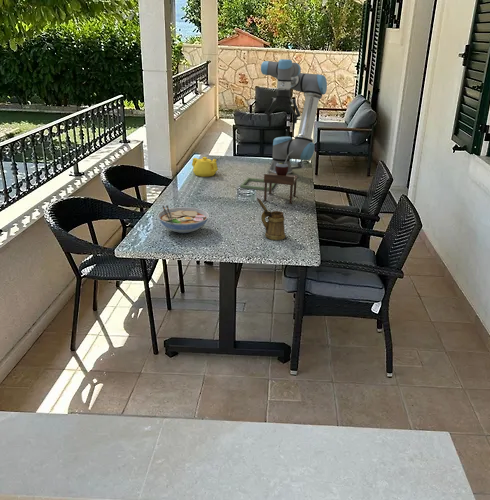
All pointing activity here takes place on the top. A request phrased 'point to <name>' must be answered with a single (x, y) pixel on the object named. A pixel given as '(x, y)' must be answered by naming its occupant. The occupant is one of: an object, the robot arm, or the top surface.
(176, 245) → the top surface
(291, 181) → the stand
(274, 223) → the wooden mug
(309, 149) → the robot arm
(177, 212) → the ramen bowl
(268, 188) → the bottom bay
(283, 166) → the mate gourd
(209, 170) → the teapot
